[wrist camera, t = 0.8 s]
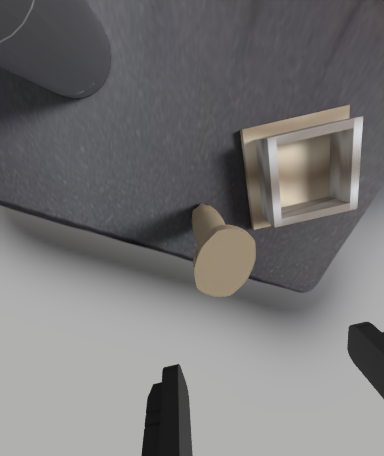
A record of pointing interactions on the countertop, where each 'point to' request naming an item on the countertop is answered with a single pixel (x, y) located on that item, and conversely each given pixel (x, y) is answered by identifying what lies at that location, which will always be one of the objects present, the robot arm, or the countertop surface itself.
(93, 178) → the countertop surface
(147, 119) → the countertop surface
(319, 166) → the small square bin
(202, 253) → the handle
